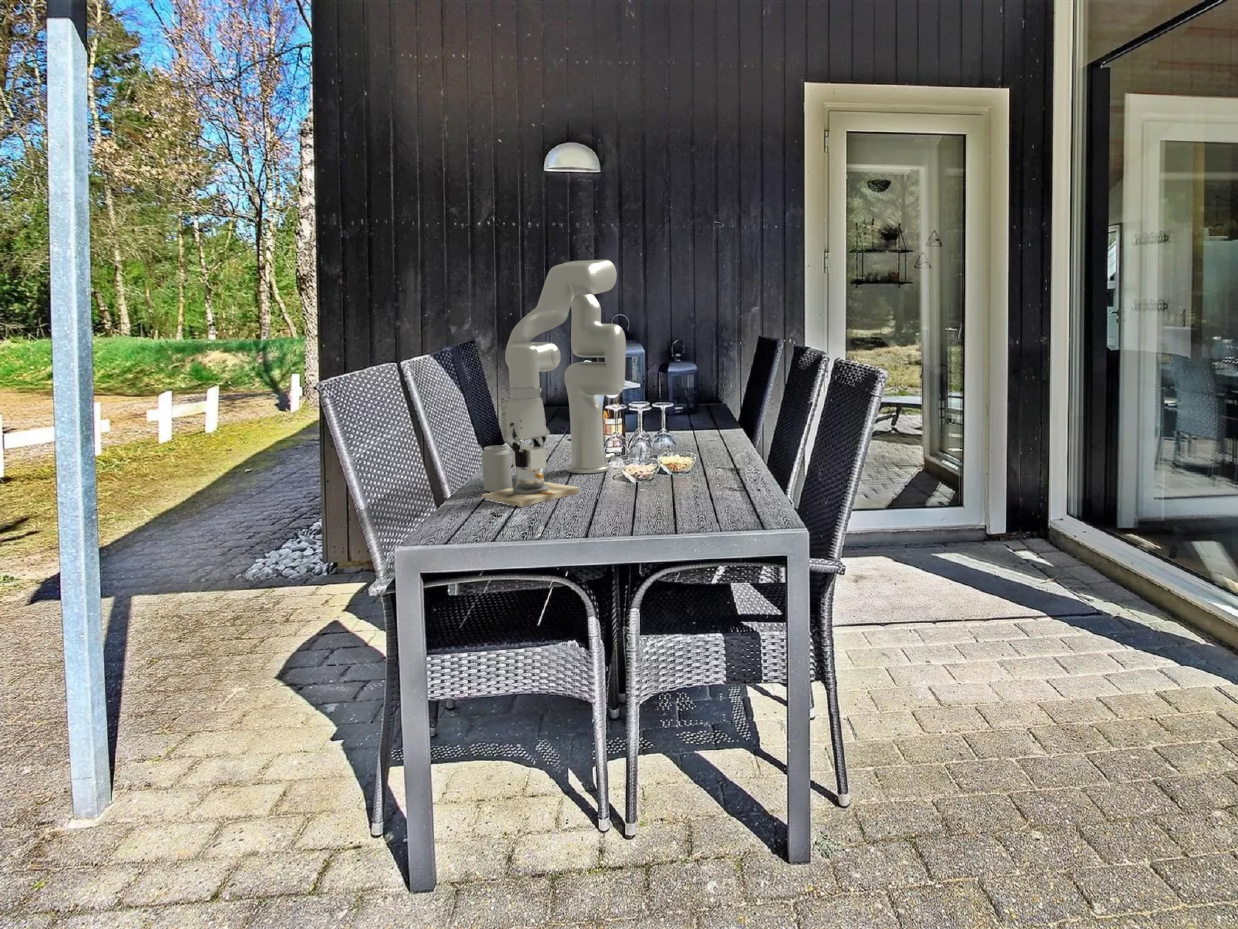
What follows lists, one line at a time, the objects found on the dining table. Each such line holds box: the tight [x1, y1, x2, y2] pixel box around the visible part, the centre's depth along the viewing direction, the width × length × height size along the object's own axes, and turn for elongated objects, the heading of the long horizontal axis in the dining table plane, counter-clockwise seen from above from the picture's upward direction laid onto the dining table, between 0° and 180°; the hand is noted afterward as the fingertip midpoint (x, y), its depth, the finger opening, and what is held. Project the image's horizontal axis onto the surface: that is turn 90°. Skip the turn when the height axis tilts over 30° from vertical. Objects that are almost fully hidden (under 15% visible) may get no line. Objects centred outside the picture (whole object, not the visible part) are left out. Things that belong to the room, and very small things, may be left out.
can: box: [481, 445, 513, 493], centre depth 231 cm, size 8×8×12 cm
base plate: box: [481, 481, 580, 508], centre depth 224 cm, size 20×15×2 cm
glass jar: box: [511, 444, 547, 489], centre depth 222 cm, size 10×7×10 cm
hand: (529, 464), depth 222 cm, fingers closed on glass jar, 5 cm apart
